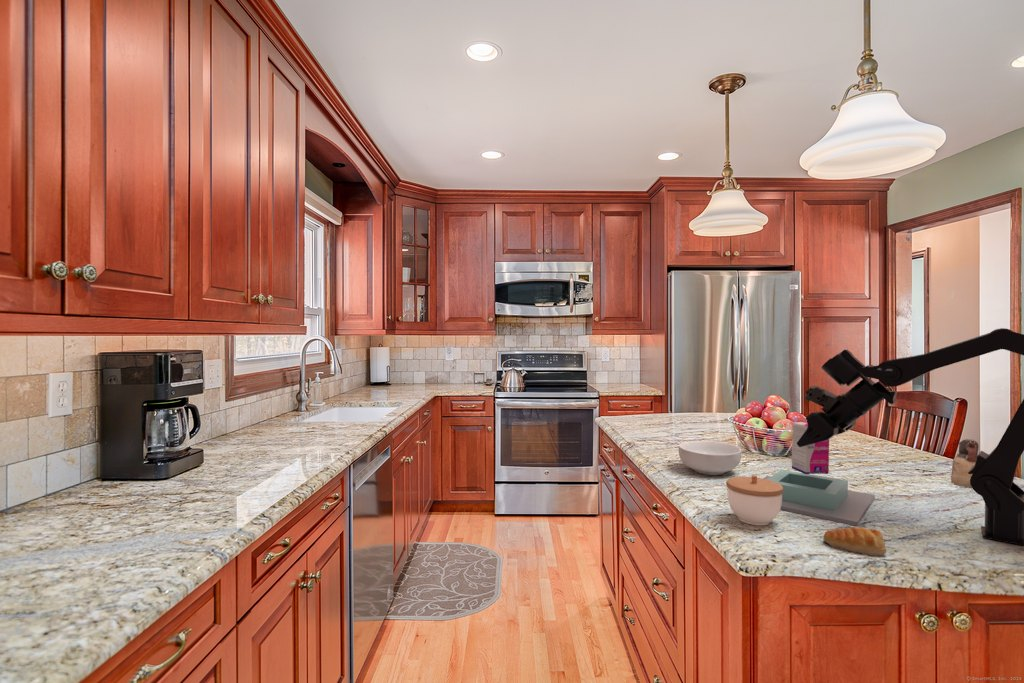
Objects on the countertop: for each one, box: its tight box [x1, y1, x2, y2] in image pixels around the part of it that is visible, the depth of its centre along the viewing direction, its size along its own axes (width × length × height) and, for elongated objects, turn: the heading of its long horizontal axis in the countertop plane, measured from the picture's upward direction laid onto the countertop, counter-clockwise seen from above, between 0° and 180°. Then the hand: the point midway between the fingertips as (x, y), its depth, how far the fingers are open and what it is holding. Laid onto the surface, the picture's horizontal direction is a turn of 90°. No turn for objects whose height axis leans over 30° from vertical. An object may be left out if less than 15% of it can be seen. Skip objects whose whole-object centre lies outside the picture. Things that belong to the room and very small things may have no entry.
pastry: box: [823, 526, 887, 557], centre depth 95 cm, size 9×7×4 cm
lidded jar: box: [726, 474, 783, 526], centre depth 108 cm, size 11×11×9 cm
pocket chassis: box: [762, 469, 876, 527], centre depth 122 cm, size 24×24×4 cm
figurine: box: [950, 438, 979, 489], centre depth 134 cm, size 7×7×12 cm
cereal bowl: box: [678, 440, 742, 476], centre depth 146 cm, size 17×17×7 cm
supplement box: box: [791, 421, 830, 475], centre depth 124 cm, size 6×6×12 cm
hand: (803, 442), depth 125 cm, fingers closed on supplement box, 8 cm apart
